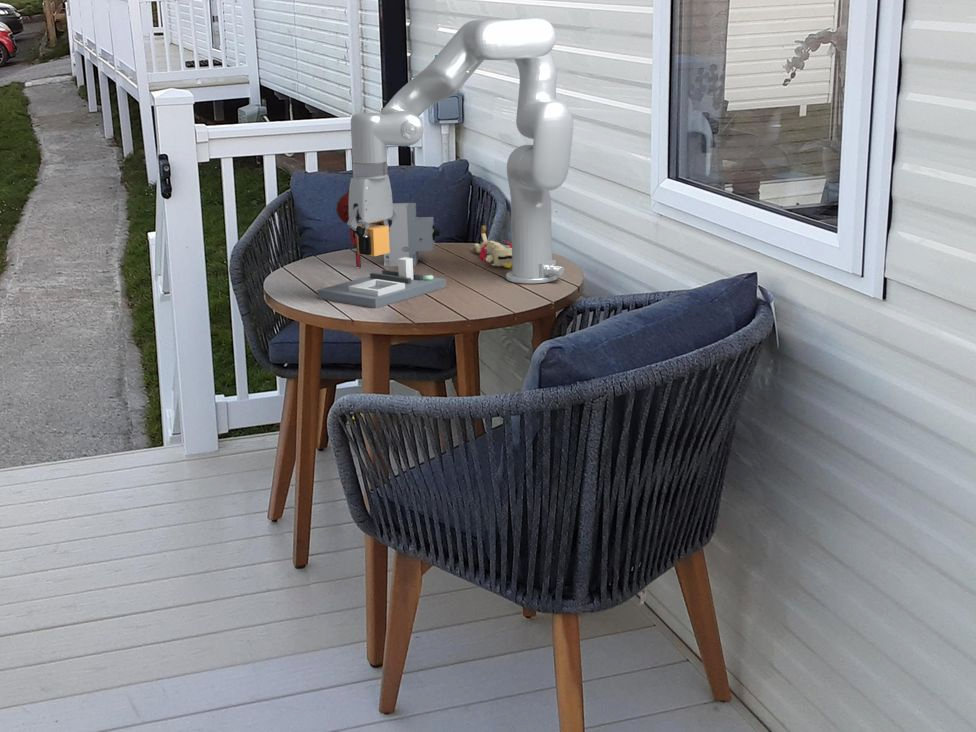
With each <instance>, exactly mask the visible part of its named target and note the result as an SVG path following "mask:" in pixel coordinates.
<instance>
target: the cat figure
mask: <svg viewBox="0 0 976 732" xmlns="http://www.w3.org/2000/svg"><path fill="white" fill-rule="evenodd" d="M486 232H487V225H481V227H480V235H481V238H482V241H481V242H480V243H474V247H473V248H472V253H474V254H476V253H477V254H478V258H479V259H480V260H481V262H484V264H487V263H491V262H492V261H493V263H491V266H493V267H495V266H497V267H504V268H512V243H511V242H510V241H508V240H507V241H506V240H504V241H503V242H504V243H505V242H506V243H507V245H508V246H509V247H505V246H504V245H503V244H502V243H500V242H497V241H495V240H488V238H487V235H486Z"/></svg>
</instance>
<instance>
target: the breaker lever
mask: <svg viewBox="0 0 976 732" xmlns="http://www.w3.org/2000/svg"><path fill="white" fill-rule="evenodd" d="M397 267H398V269H397V271H399V276H400V277H407V278H411V280H413V273H414V266H413V258H407V257H404V258H400V259H398V266H397Z"/></svg>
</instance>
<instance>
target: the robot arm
mask: <svg viewBox="0 0 976 732" xmlns="http://www.w3.org/2000/svg"><path fill="white" fill-rule="evenodd" d="M556 37H557V36H556V31H555V28H554V26H553V25H552V24H551V23H550V22H549V21H548V20H547V19H545V18H542V17H515V18H512V19H511V18H510V19H474V20H470V21H468V22H466V23H464V24H463V25H462V26H461V27H460V28H459V29H458V30H457V31H456V33H455V34H454V35H453V36H452V37H451V39H449V41H447V43H446V45H445V46H443V48H442V49H441V50H440V51H439V52H438V54H437V55H436V56H435V57H434V58H433V59H432V61H431V62H430V63H429V64H428V65H427V66H426V67H424V68H423V70H421V71H420V72H419V73H418V74H416V75H415V76H414V77H413V78H412V79H410V81H409V82H407V83H406V84H405V85H403V86H402V87H401V88H400V89H399V90H398V91H397V92H396V93H395V94H394V95H393V96H392V98H391V99H390V100H389V101H388V102H387V104H386V105H385V106H384V107H383V109H382V110H381V111H380V112H379V113H378V112H358V113H354V114H353V115H352V116H351V118H350V139H351V140H350V141H351V149H352V156H351V162H352V161H353V173H352V177H351V178H350V183H349V220H348V223H346V224H347V226H348V227H349V229H350V228H351V229H353V231H354V232H355V233H356V236H357V237H358V244H359V254H360V255H362V254H363V255H362V256H369V255H371V244H370V237H368V234H369V227H370V225H371V224H374V223H375V225H383V226H389V232H390V227H391V225H392V222H393V221H394V219H395V218H396V213H395V212H394V210H393V192H392V187H391V181H390V177H389V174H388V168H389V165H388V156H387V155H388V154H387V153H388V152H387V146H397V147H410V146H414V145H415V144H416V143H418V142H419V141H420V140H421V138H422V137H423V134H424V132H425V131H424V128H425V127H424V124H423V122H422V119H421V118H420V116H421V115H422V114H423V113H424V112H426V111H427V109H429V108H430V107H432V106H433V105H435V104H437V103H440V102H442V101H444V100H447V99H449V98H450V97H452V96H453V95H454V94H456V93H458V91H459V90H460V89H461V88H462V87H463V85H465V83H466V82H467V81H468V80H469V78H471V76H472V75H473V73H474V72H476V70H477V69H478V68H479V66H480V65H481V64H482V63H483V62H484V61H508V60H509V61H510V60H514V61H515V63H516V66H517V69H518V72H519V73H518V74H519V75H518V76H519V84H518V85H519V89H518V99H517V108H516V117H515V118H516V119H515V122H516V123H515V124H516V128H517V130H518V132H519V133H520V134H521V136H523V137H525V138H527V139H531V140H533V144H523V145H520V146H518V147H516V148H515V149H514V150H512V152H511V153H510V154H509V156H508V159H507V162H506V176H507V181H508V187H509V194H510V222H511V226H510V228H511V232H510V233H511V245H512V265H511V271H509V272H507V273H506V274H505V279H506V281H508V282H512V283H517V284H528V285H529V284H532V285H533V284H544V283H545V284H546V283H551V282H554V281H557V280H559V277H561V276H563V274H564V272H565V266H561V265H557V263H556V261H557V260H556V259H553V254H552V253H553V246H552V245H553V244H552V241H553V240H552V236H553V235H552V229H553V228H552V199H551V194H550V191H553V190H556V189H559V188H560V187H561V186H562V184H564V182H565V181H566V179H567V176H568V173H569V169H570V163H571V162H570V161H571V153H572V145H573V144H572V142H573V135H574V120H573V115H572V113H571V110H570V108H569V107H568V106H567V104H566V103H564V101H561V100H558V99H557V98H556V97H557V79H558V78H557V76H558V75H557V67H556V66H557V65H556V63H555V59H554V57H553V54H552V52H551V51H552V50H553V48H554V46H555V44H556V41H557V39H556ZM362 225H363V226H364V230H363V229H362Z"/></svg>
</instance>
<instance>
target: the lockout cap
mask: <svg viewBox="0 0 976 732" xmlns="http://www.w3.org/2000/svg"><path fill="white" fill-rule="evenodd" d="M362 229H363V230H364V225H363V226H362ZM368 237H370V244H371V255H368V256H370V257H377V256H381V255H384V254H386V253H390V248H389V226H383V225H376V223H375V224H374V223H370V227H369V234H368ZM357 243H358V237H357ZM358 254H359V244H358ZM361 255H362V256H364V255H363V254H361Z"/></svg>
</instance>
